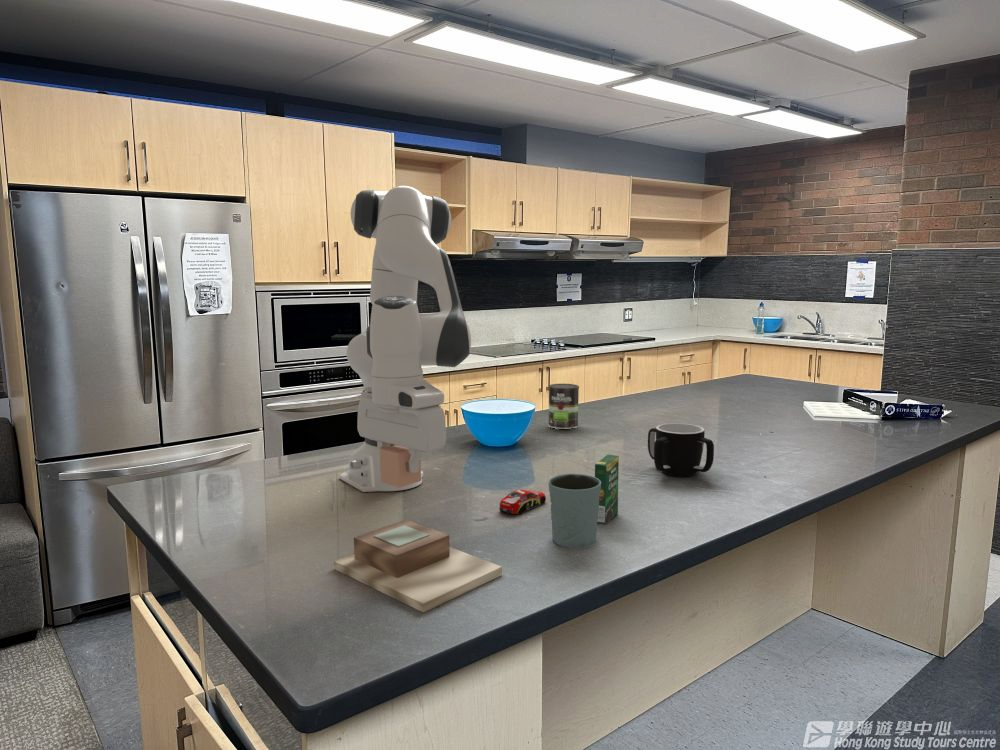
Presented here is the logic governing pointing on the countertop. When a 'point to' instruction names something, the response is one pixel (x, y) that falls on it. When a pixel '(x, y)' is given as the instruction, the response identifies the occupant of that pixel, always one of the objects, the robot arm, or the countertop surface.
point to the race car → (521, 501)
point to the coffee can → (563, 406)
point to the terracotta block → (397, 466)
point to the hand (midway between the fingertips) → (400, 468)
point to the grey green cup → (574, 509)
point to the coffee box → (607, 488)
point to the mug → (679, 449)
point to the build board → (425, 579)
